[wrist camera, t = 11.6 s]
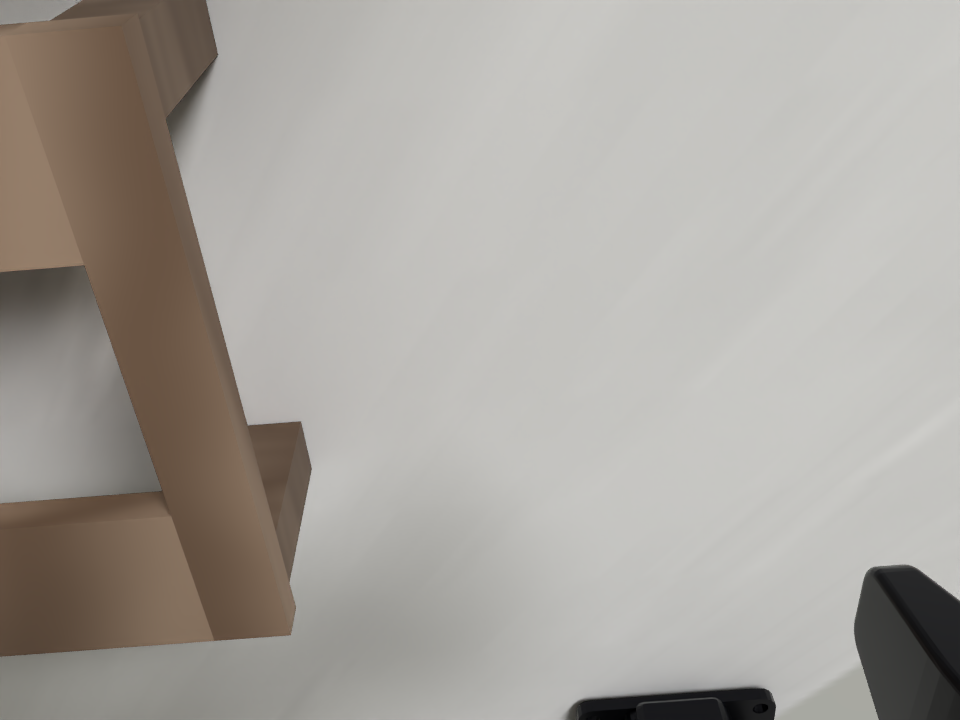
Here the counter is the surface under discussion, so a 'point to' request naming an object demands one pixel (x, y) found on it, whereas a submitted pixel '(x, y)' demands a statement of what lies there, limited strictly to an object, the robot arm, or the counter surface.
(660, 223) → the counter surface
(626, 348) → the counter surface
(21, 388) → the counter surface
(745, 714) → the robot arm
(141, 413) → the four-legged frame stand
